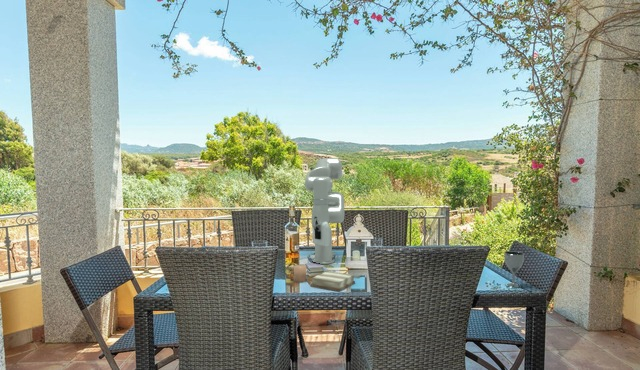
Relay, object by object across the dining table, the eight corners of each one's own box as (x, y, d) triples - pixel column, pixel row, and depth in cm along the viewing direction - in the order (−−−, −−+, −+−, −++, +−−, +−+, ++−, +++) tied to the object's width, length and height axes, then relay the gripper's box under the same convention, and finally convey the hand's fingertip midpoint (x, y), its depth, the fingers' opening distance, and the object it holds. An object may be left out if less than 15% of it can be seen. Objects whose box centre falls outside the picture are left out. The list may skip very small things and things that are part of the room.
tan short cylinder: (298, 278, 205) (298, 264, 205) (308, 280, 202) (308, 265, 202) (291, 281, 200) (291, 266, 200) (301, 283, 197) (301, 268, 197)
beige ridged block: (327, 278, 204) (327, 270, 204) (355, 283, 196) (355, 274, 196) (310, 286, 192) (310, 277, 191) (339, 291, 184) (339, 282, 184)
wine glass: (524, 284, 193) (525, 252, 192) (521, 289, 186) (522, 255, 185) (505, 282, 197) (506, 250, 196) (502, 286, 191) (503, 253, 190)
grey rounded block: (311, 243, 216) (311, 219, 215) (317, 242, 219) (317, 218, 218) (324, 246, 208) (324, 222, 207) (331, 245, 211) (330, 221, 210)
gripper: (323, 200, 221) (323, 234, 222) (305, 203, 207) (305, 240, 208) (335, 201, 217) (335, 235, 218) (318, 204, 203) (318, 241, 204)
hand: (321, 237), depth 213 cm, fingers closed on grey rounded block, 5 cm apart
